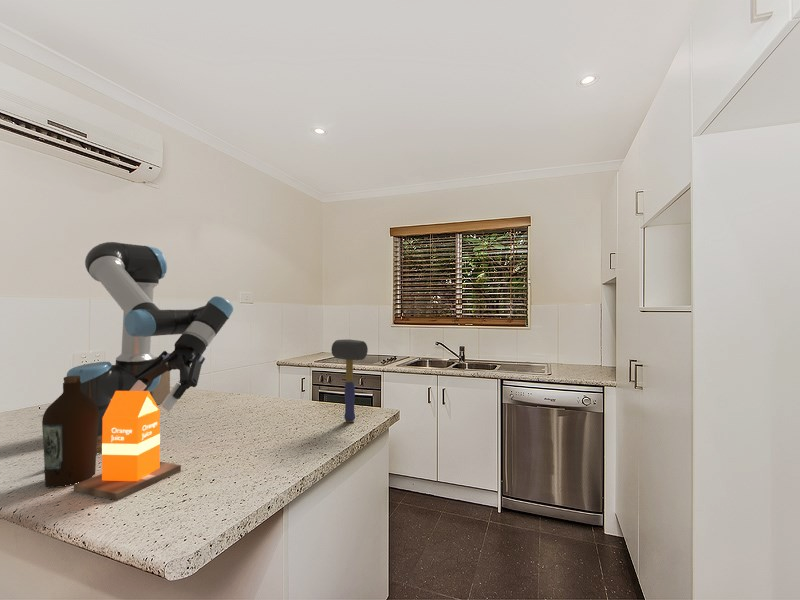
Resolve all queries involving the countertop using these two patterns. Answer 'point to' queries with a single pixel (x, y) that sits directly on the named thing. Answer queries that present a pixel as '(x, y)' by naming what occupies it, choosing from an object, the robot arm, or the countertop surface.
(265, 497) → the countertop surface
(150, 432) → the orange juice
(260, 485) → the countertop surface
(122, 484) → the board
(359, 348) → the rubber mallet
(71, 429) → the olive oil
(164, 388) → the wooden block
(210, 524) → the countertop surface
